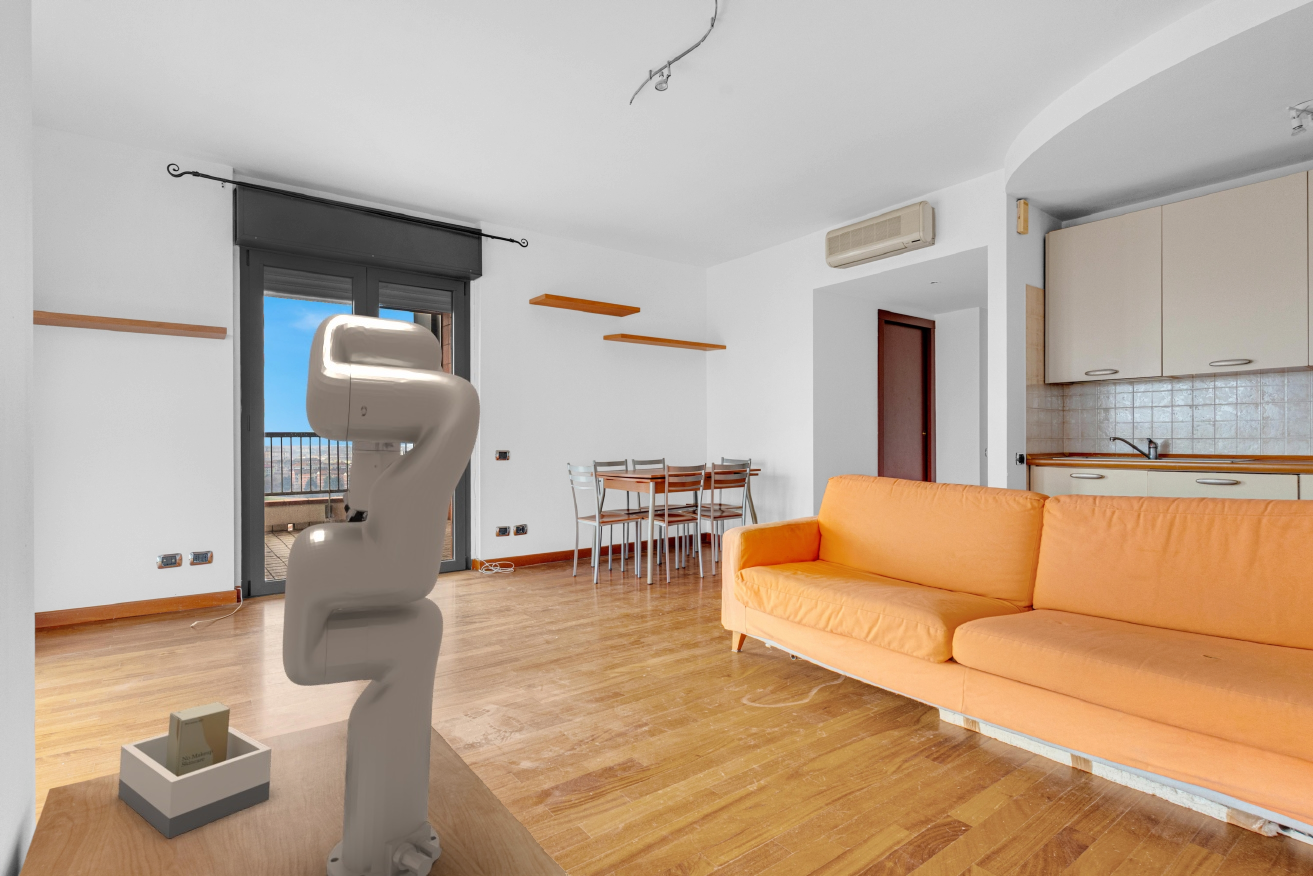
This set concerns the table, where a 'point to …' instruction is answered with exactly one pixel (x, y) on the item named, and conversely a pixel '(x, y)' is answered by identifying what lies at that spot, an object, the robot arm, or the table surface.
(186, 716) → the skincare box
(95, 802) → the table surface
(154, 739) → the box
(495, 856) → the table surface
